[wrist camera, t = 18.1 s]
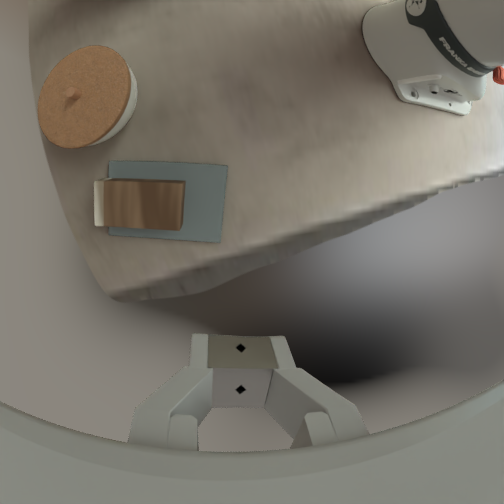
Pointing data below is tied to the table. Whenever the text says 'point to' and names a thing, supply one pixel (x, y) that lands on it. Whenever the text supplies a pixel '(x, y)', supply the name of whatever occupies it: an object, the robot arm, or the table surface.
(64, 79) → the lidded jar
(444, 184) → the table surface
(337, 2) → the table surface
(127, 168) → the slate mat
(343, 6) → the table surface
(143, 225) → the brown and white block
